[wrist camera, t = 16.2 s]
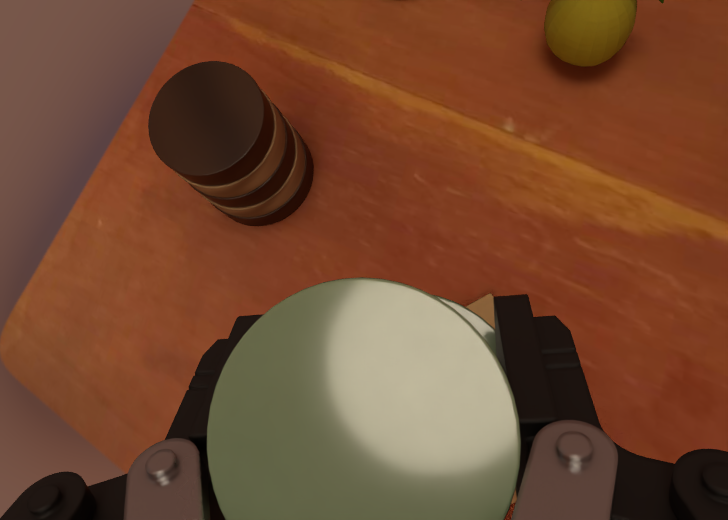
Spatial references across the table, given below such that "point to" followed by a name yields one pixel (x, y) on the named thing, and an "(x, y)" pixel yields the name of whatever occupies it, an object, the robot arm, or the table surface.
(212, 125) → the stack
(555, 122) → the table surface
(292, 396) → the ring spool
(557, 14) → the lemon
